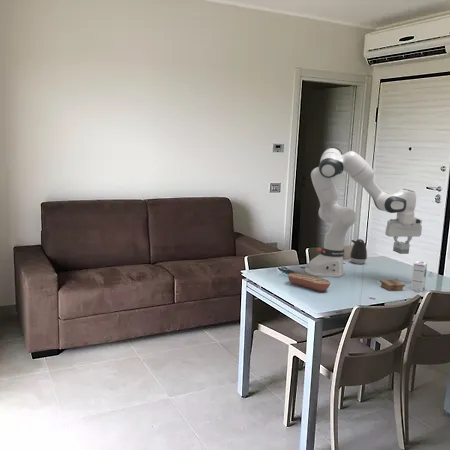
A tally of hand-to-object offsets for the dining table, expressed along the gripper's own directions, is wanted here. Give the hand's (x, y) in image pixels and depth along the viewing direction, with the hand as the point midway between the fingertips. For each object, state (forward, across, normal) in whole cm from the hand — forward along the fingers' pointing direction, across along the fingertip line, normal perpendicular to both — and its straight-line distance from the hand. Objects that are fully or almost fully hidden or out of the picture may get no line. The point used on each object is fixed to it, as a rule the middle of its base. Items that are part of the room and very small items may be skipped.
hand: (401, 244), depth 271 cm
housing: (+4, 0, 0) cm, 4 cm away
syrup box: (+21, +3, -14) cm, 26 cm away
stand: (+21, -11, -11) cm, 26 cm away
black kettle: (+21, -2, +40) cm, 45 cm away
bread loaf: (+22, -55, -5) cm, 60 cm away
